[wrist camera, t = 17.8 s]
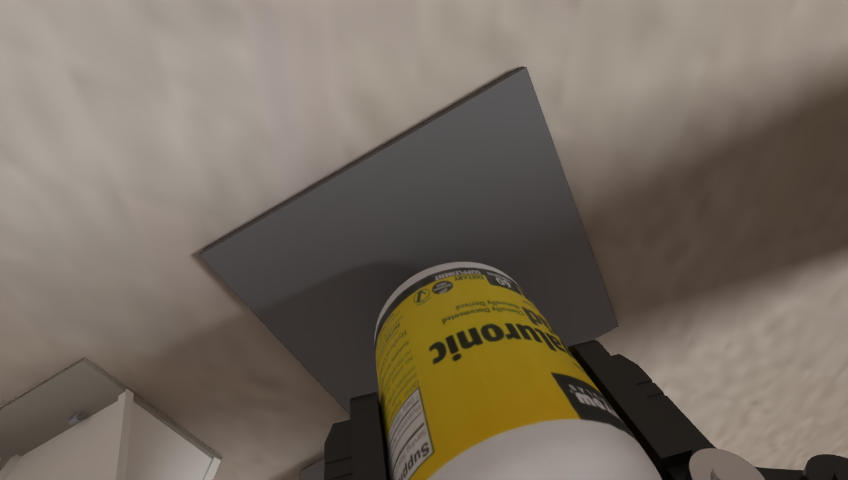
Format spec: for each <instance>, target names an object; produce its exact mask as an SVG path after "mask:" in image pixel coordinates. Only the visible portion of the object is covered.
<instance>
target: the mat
mask: <svg viewBox="0 0 848 480" xmlns="http://www.w3.org/2000/svg"><path fill="white" fill-rule="evenodd" d="M199 256H200V257H201V258H202V259H203V260H204V261H205V262H206V263H207V264H208V265H209V266H210V267H211V268H212V269H213V270H214V271H215V272H216V274H217V275H218V276H219V277H220V278H221V279H222V280H223V281H224V282H225V283H226V284H227V285H228V286H229V287H230V288H231V289H232V290H233V291H234V293H235V294H236V295H237V296H238V297H239V298H240V299H241V300H242V301H243V302H244V303H245V304H246V305H247V306H248V307H249V308H250V309H251V311H252V312H253V313H254V314H255V315H256V316H257V317H258V318H259V319H260V320H261V321H262V322H263V323H264V324H265V325H266V326H267V327H268V329H269V330H270V331H271V332H272V333H273V334H274V335H275V336H276V337H277V338H278V339H279V340H280V341H281V342H282V343H283V344H284V345H285V347H286V348H287V349H288V350H289V351H290V352H291V353H292V354H293V355H294V356H295V357H296V358H297V359H298V360H299V361H300V362H301V363H302V365H303V366H304V367H305V368H306V369H307V370H308V371H309V372H310V373H311V374H312V375H313V376H314V377H315V378H316V379H317V380H318V381H319V383H320V384H321V385H322V386H323V387H324V388H325V389H326V390H327V391H328V392H329V393H330V394H331V395H332V396H333V397H334V398H335V399H336V401H337V402H338V403H339V404H340V405H341V406H342V407H343V408H344V409H345V410H346V411H347V412H348V413H349V414H350V398H353V397H357V396H361V395H365V394H370V393H374V392H377V393H378V397H379V401H380V394H379V386H378V378H377V369H376V360H375V342H374V337H375V330H376V325H377V320H378V318H379V315H380V313H381V311H382V309H383V307H384V305H385V304H386V302H387V300H388V299H389V298H390V296H391V295H392V294H393V293H394V292H395V290H396V289H397V288H398V287H399V286H401V285H402V284H403V283H404V282H405V281H407V280H408V279H409V278H411V277H412V276H414V275H416V274H417V273H419V272H421V271H423V270H426V269H428V268H431V267H434V266H437V265H441V264H445V263H452V262H475V263H480V264H485V265H488V266H491V267H494V268H496V269H498V270H500V271H502V272H503V273H505V274H506V275H508V276H509V277H510V278H512V279H513V280H514V281H515V282H516V283H517V284H518V285H519V286H520V287H521V289H522V290H523V291H524V292H525V294H526V295H527V296H528V297H529V299H530V300H531V301H532V303H533V304H534V305H535V306H536V307H537V309H538V310H539V312H540V313H541V314H542V316H543V317H544V318H545V319H546V321H547V322H548V323H549V325H550V326H551V327H552V329H553V330H554V331H555V333H556V334H557V335H558V337H559V338H560V340H561V341H562V342H563V343H564V345H565V346H566V347H567V349H568V347H569V346H571V345H575V344H579V343H584V342H588V341H591V340H593V339H595V338H597V337H599V336H601V335H603V334H605V333H606V332H608V331H610V330H612V329H614V328H616V327H618V323H617V320H616V318H615V315H614V312H613V309H612V306H611V303H610V301H609V298H608V295H607V292H606V289H605V287H604V284H603V281H602V278H601V275H600V273H599V270H598V267H597V264H596V261H595V259H594V256H593V253H592V250H591V247H590V245H589V242H588V239H587V236H586V233H585V231H584V228H583V225H582V222H581V219H580V217H579V214H578V211H577V208H576V205H575V202H574V200H573V197H572V194H571V191H570V188H569V186H568V183H567V180H566V177H565V174H564V172H563V169H562V166H561V163H560V160H559V158H558V155H557V152H556V149H555V146H554V144H553V141H552V138H551V135H550V132H549V130H548V127H547V124H546V121H545V118H544V115H543V113H542V110H541V107H540V104H539V101H538V99H537V96H536V93H535V90H534V87H533V85H532V82H531V79H530V76H529V73H528V71H527V68H526V67H520V68H518V69H516V70H514V71H513V72H511V73H509V74H507V75H506V76H504V77H502V78H501V79H499V80H497V81H495V82H494V83H492V84H490V85H488V86H487V87H485V88H483V89H481V90H480V91H478V92H476V93H474V94H473V95H471V96H469V97H468V98H466V99H464V100H462V101H461V102H459V103H457V104H455V105H454V106H452V107H450V108H448V109H447V110H445V111H443V112H442V113H440V114H438V115H436V116H435V117H433V118H431V119H429V120H428V121H426V122H424V123H422V124H421V125H419V126H417V127H415V128H414V129H412V130H410V131H409V132H407V133H405V134H403V135H402V136H400V137H398V138H396V139H395V140H393V141H391V142H389V143H388V144H386V145H384V146H382V147H381V148H379V149H377V150H376V151H374V152H372V153H370V154H369V155H367V156H365V157H363V158H362V159H360V160H358V161H356V162H355V163H353V164H351V165H349V166H348V167H346V168H344V169H343V170H341V171H339V172H337V173H336V174H334V175H332V176H330V177H329V178H327V179H325V180H323V181H322V182H320V183H318V184H316V185H315V186H313V187H311V188H310V189H308V190H306V191H304V192H303V193H301V194H299V195H297V196H296V197H294V198H292V199H290V200H289V201H287V202H285V203H283V204H282V205H280V206H278V207H277V208H275V209H273V210H271V211H270V212H268V213H266V214H264V215H263V216H261V217H259V218H257V219H256V220H254V221H252V222H250V223H249V224H247V225H245V226H244V227H242V228H240V229H238V230H237V231H235V232H233V233H231V234H230V235H228V236H226V237H224V238H223V239H221V240H219V241H217V242H216V243H214V244H212V245H211V246H209V247H207V248H205V249H204V250H203V251H202V252H201V254H200V255H199ZM380 405H381V402H380Z"/></svg>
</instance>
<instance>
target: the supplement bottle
mask: <svg viewBox="0 0 848 480" xmlns="http://www.w3.org/2000/svg"><path fill="white" fill-rule="evenodd" d="M374 342H375V360H376V369H377V378H378V386H379V394H380V402H381V411H382V419H383V428H384V437H385V443H386V453H387V460H388V469H389V476H390V480H662V478H661V476H660V474H659V473H658V471H657V469H656V467H655V466H654V464H653V463H652V461H651V460H650V458H649V457H648V456H647V454H646V453H645V451H644V450H643V448H642V447H641V445H640V444H639V442H638V441H637V439H636V438H635V436H634V435H633V434H632V432H631V431H630V430H629V429H628V427H627V426H626V425H625V423H624V422H623V421H622V420H621V419H620V417H619V416H618V415H617V414H616V412H615V411H614V409H613V408H612V406H611V405H610V404H609V402H608V401H607V400H606V399H605V397H604V396H603V395H602V394H601V392H600V391H599V390H598V388H597V387H596V386H595V384H594V383H593V382H592V380H591V379H590V378H589V376H588V375H587V374H586V372H585V371H584V370H583V368H582V367H581V366H580V364H579V363H578V362H577V360H576V359H575V358H574V357H573V355H572V354H571V353H570V351H569V350H568V349H567V347H566V346H565V345H564V343H563V342H562V341H561V340H560V338H559V337H558V335H557V334H556V333H555V331H554V330H553V329H552V327H551V326H550V325H549V323H548V322H547V321H546V319H545V318H544V317H543V316H542V314H541V313H540V312H539V310H538V309H537V307H536V306H535V305H534V304H533V303H532V301H531V300H530V299H529V297H528V296H527V295H526V294H525V292H524V291H523V290H522V289H521V287H520V286H519V285H518V284H517V283H516V282H515V281H514V280H513V279H512V278H510V277H509V276H508V275H506V274H505V273H503V272H502V271H500V270H498V269H496V268H494V267H491V266H488V265H485V264H480V263H475V262H452V263H445V264H441V265H437V266H434V267H431V268H428V269H426V270H423V271H421V272H419V273H417V274H416V275H414V276H412V277H411V278H409V279H408V280H407V281H405V282H404V283H403V284H402V285H401V286H399V287H398V288H397V289H396V290H395V292H394V293H393V294H392V295H391V296H390V298H389V299H388V300H387V302H386V304H385V305H384V307H383V309H382V311H381V313H380V315H379V318H378V320H377V325H376V330H375V337H374Z"/></svg>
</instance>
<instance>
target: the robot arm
mask: <svg viewBox="0 0 848 480" xmlns="http://www.w3.org/2000/svg"><path fill="white" fill-rule="evenodd" d="M568 350H569V351H570V353H571V354H572V355H573V357H574V358H575V359H576V360H577V362H578V363H579V364H580V366H581V367H582V368H583V370H584V371H585V372H586V374H587V375H588V376H589V378H590V379H591V380H592V382H593V383H594V384H595V386H596V387H597V388H598V390H599V391H600V392H601V394H602V395H603V396H604V397H605V399H606V400H607V401H608V402H609V404H610V405H611V406H612V408H613V409H614V411H615V412H616V414H617V415H618V416H619V417H620V419H621V420H622V421H623V422H624V423H625V425H626V426H627V427H628V429H629V430H630V431H631V432H632V434H633V435H634V436H635V438H636V439H637V441H638V442H639V444H640V445H641V447H642V448H643V450H644V451H645V453H646V454H647V456H648V457H649V458H650V460H651V461H652V463H653V464H654V466H655V467H656V469H657V471H658V473H659V474H660V476H661V478H662V480H848V459H847V458H844V457H841V456H836V455H829V454H823V455H817V456H814V457H812V458H811V459H810V460H808V462H807V464H806V466H805V469H804V471H803V470H786V469H770V468H759V467H754V466H753V465H752V464H750V463H749V462H748V461H746V460H745V459H743V458H742V457H740V456H738V455H736V454H734V453H731V452H729V451H725V450H722V449H717V448H716V447H714V446H713V445H712V444H711V443H710V442H709V441H708V440H707V439H706V438H705V436H704V435H703V434H702V433H701V432H700V431H699V430H698V429H697V428H696V427H695V426H694V425H693V424H692V422H691V421H690V420H689V419H688V418H687V417H686V416H685V415H684V414H683V413H682V412H681V411H680V410H679V409H678V407H677V406H676V405H675V404H674V403H673V402H672V401H671V400H670V399H669V398H668V397H667V396H665V395H664V393H663V391H662V390H661V389H660V388H659V387H658V386H657V385H656V384H655V383H653V382H652V380H651V378H650V377H649V376H648V375H647V374H646V373H645V372H644V371H643V370H642V369H641V368H640V367H639V366H638V365H637V364H635V363H634V362H632V361H630V360H629V359H627V358H625V357H624V356H622V355H620V354H617V355H613V356H611V355H610V354H609V353H608V352H607V351H606V350H605V348H604V347H603V346H602V345H601V344H600V343H599V342H598V341H596V340H592V341H588V342H584V343H579V344H575V345H571V346H569V347H568ZM324 464H325V467H324V480H390V476H389V469H388V460H387V453H386V443H385V437H384V428H383V419H382V411H381V405H380V401H379V397H378V393H377V392H374V393H370V394H365V395H361V396H357V397H353V398H350V420H347V421H343V422H339V423H335V424H333V426H332V428H331V430H330V433H329V435H328V437H327V439H326V442H325V455H324Z"/></svg>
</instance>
